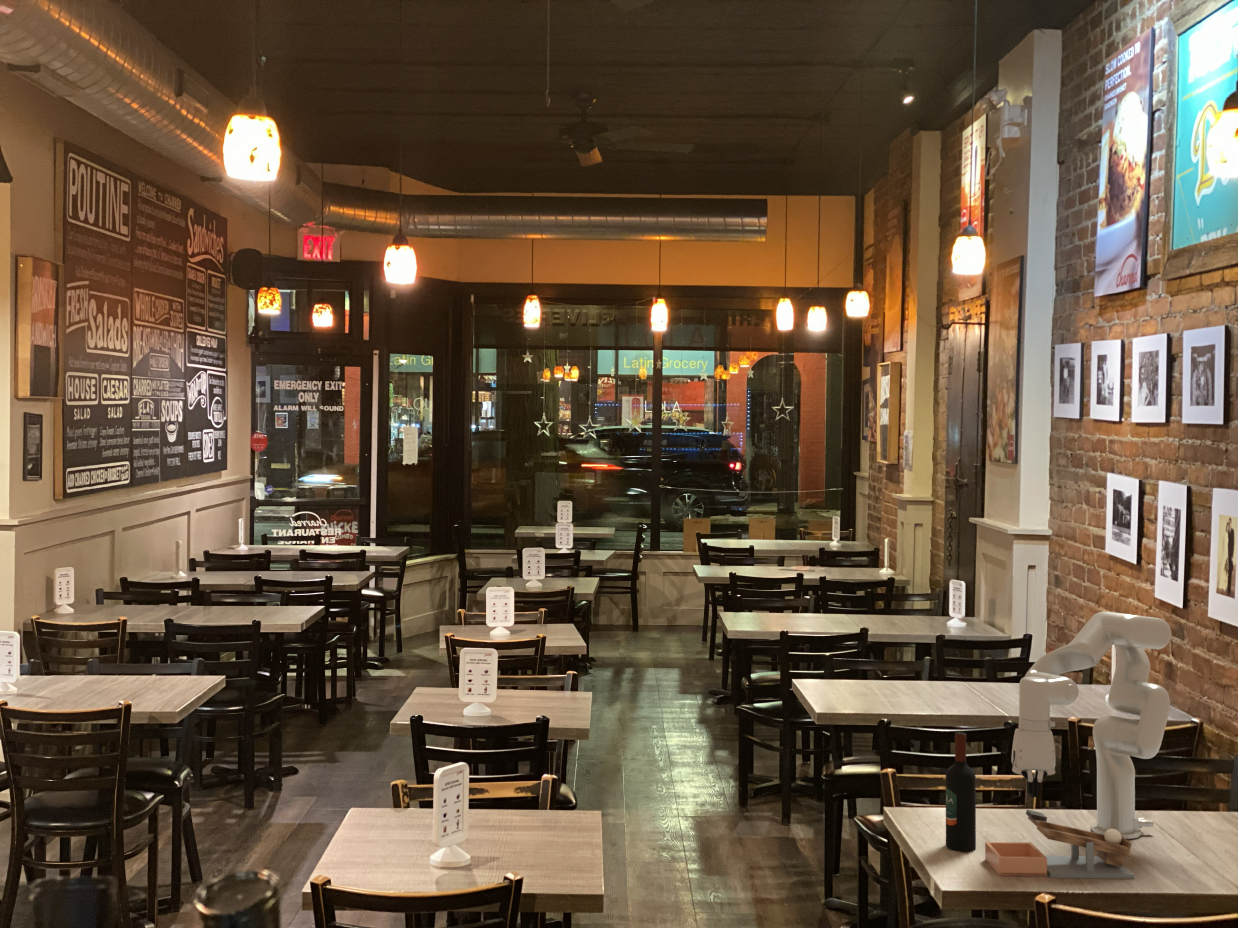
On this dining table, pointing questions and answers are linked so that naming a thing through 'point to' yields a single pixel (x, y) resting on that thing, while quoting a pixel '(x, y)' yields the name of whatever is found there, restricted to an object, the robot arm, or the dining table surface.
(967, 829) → the wine bottle
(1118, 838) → the ball
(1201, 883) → the dining table surface
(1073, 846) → the stand
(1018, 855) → the pink hollow square tray
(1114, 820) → the robot arm
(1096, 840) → the lever
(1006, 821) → the dining table surface
